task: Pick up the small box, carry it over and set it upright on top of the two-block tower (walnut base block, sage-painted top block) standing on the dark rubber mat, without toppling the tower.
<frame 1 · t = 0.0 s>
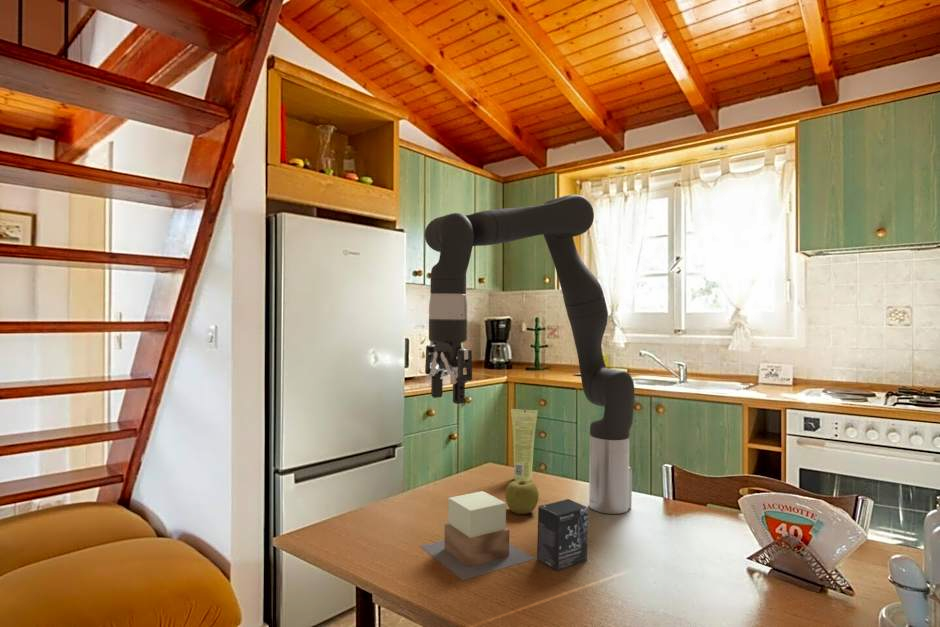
hand: (447, 400, 107), 29 cm above the table, fingers open, 8 cm apart
mat: (476, 554, 106), on the table
tube: (523, 480, 153), on the table
box: (562, 563, 103), on the table
block base: (476, 552, 106), resting on mat, touching block top
block top: (476, 526, 106), point 5 cm above the table, touching block base
apple: (521, 513, 128), on the table
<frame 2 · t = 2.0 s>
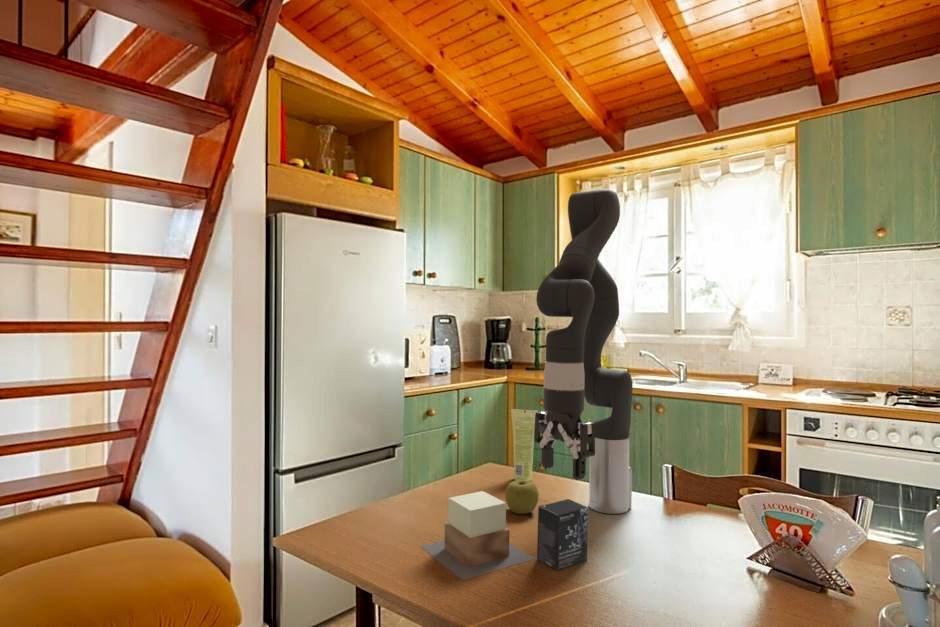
hand: (562, 472, 103), 17 cm above the table, fingers open, 8 cm apart
nothing on the table moved.
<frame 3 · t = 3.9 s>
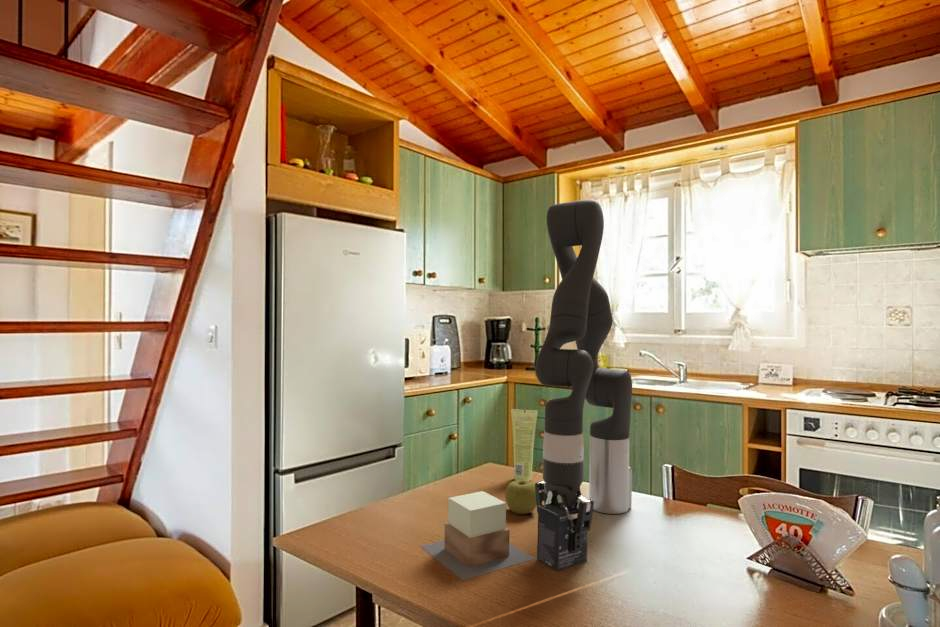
hand: (562, 545, 103), 3 cm above the table, fingers closed on box, 5 cm apart
box: (562, 563, 103), on the table, touching gripper
everything else where it was.
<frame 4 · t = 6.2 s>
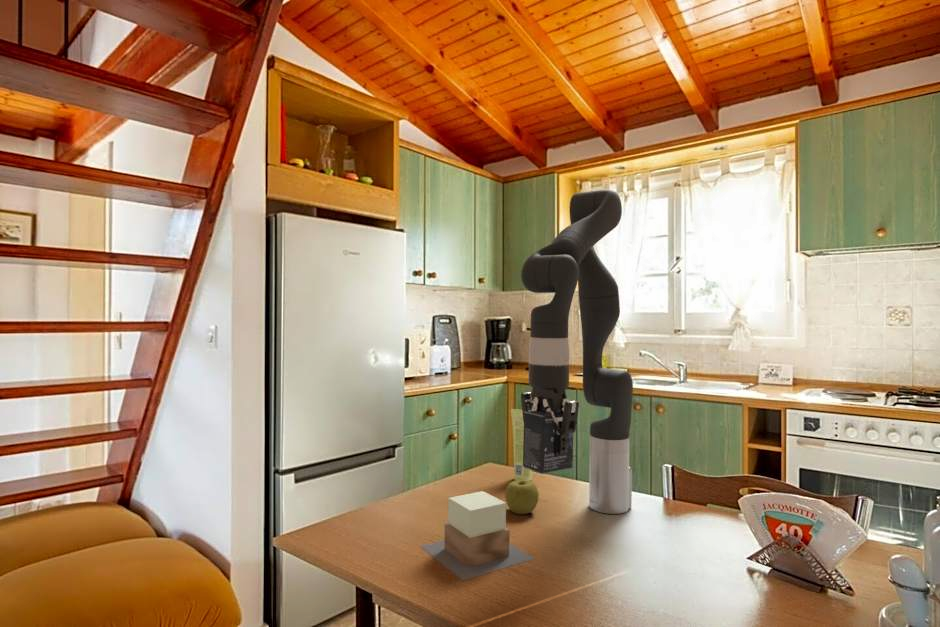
hand: (547, 451, 103), 21 cm above the table, fingers closed on box, 5 cm apart
box: (547, 469, 103), point 17 cm above the table, touching gripper
everything else where it was.
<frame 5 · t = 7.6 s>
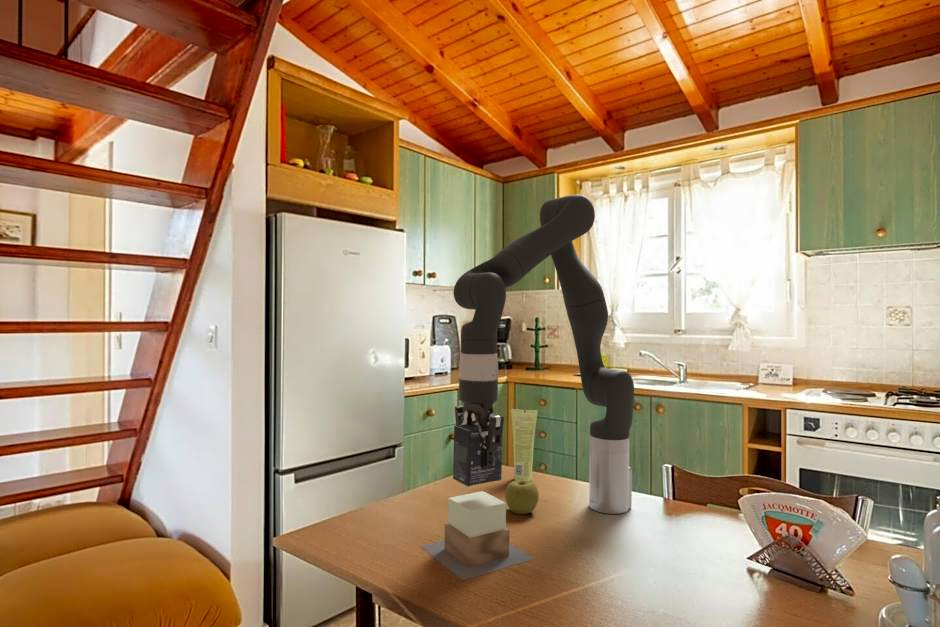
hand: (477, 464, 106), 17 cm above the table, fingers closed on box, 5 cm apart
box: (477, 481, 106), point 14 cm above the table, touching gripper
everything else where it was.
when the fingers open (14 cm above the table, at t = 8.6 s): box stays where it is, resting on block top.
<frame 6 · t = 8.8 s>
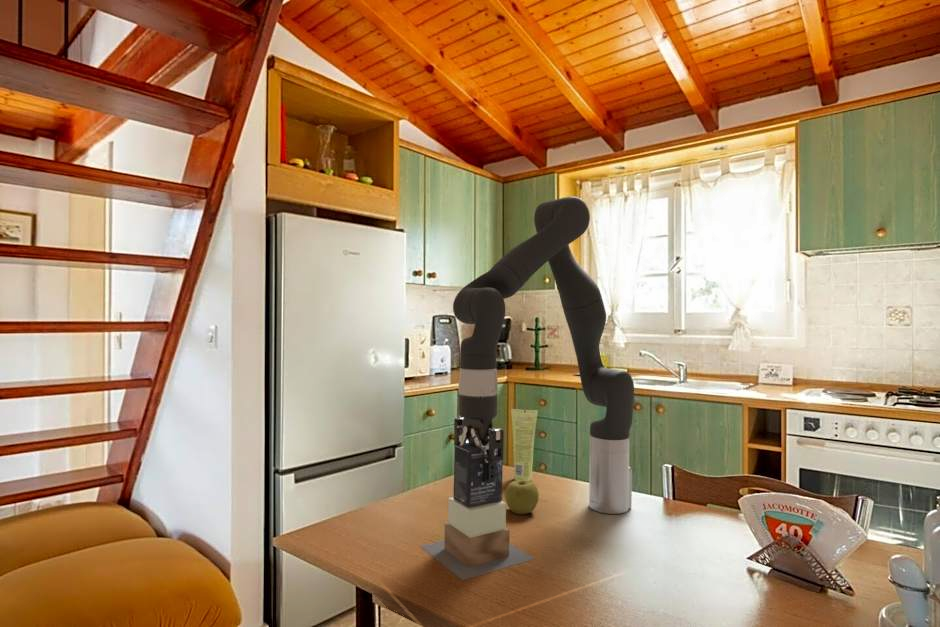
hand: (477, 477, 106), 15 cm above the table, fingers open, 7 cm apart
box: (477, 501, 105), point 10 cm above the table, touching block top
block top: (476, 526, 106), point 5 cm above the table, touching block base, box
everything else where it was.
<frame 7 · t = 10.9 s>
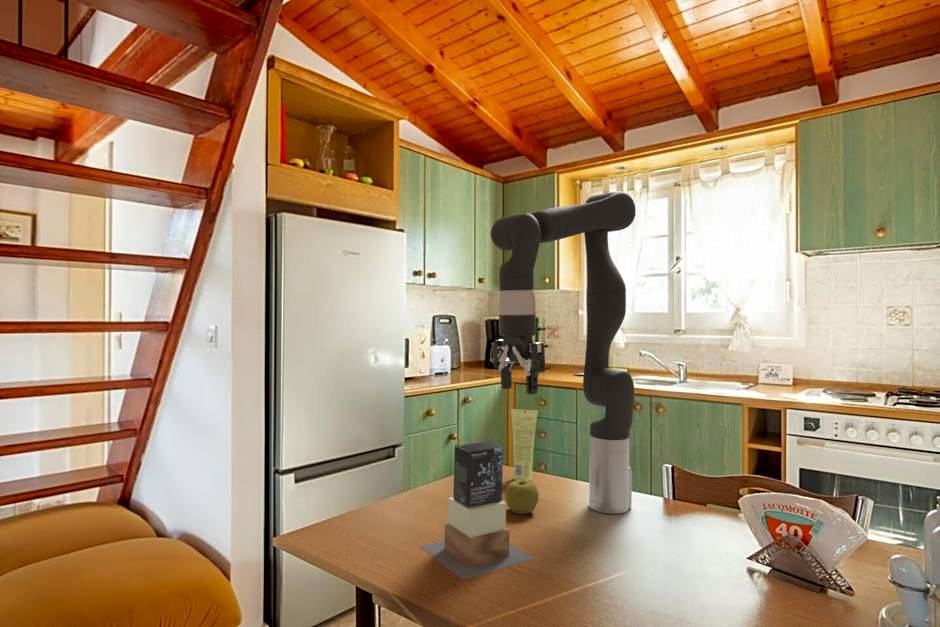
hand: (518, 391, 113), 30 cm above the table, fingers open, 8 cm apart
nothing on the table moved.
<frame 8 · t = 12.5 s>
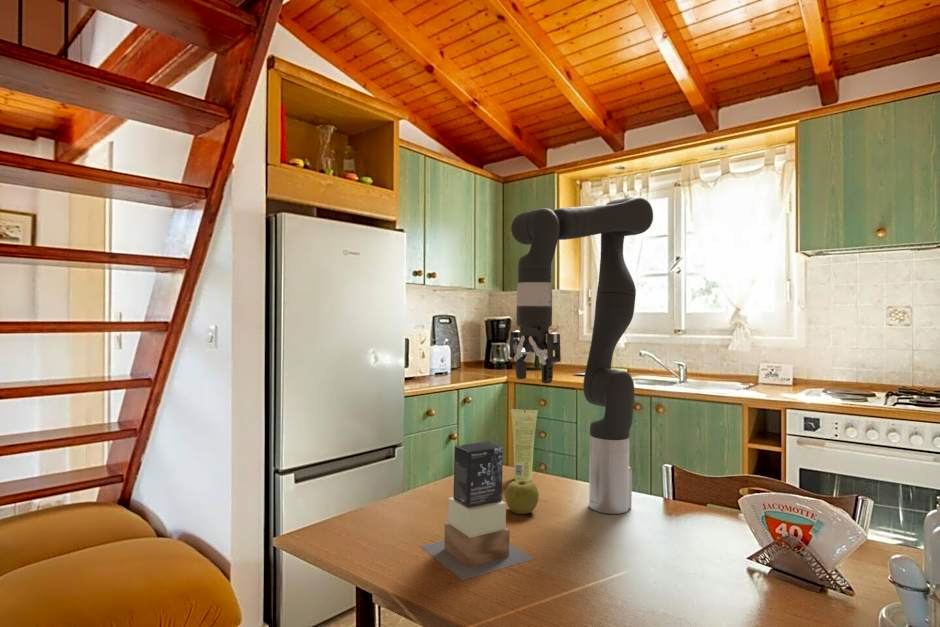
hand: (533, 380, 117), 32 cm above the table, fingers open, 8 cm apart
nothing on the table moved.
at the end: box 0.2 cm off-centre on the block top, point 4.8 cm above the block top's base; box tilted 0°; block top tilted 0° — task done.
